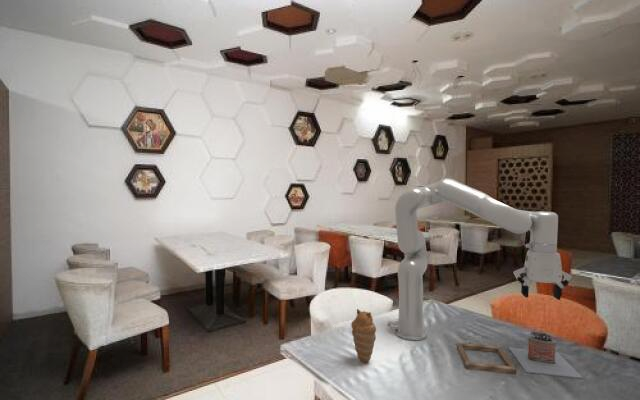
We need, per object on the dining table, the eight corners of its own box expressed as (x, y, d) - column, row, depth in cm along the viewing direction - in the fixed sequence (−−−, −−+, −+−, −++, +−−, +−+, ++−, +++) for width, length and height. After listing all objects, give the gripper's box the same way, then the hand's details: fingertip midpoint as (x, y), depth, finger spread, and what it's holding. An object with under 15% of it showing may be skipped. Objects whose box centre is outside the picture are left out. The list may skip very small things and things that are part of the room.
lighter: (553, 360, 112) (554, 331, 112) (556, 365, 109) (557, 336, 108) (526, 355, 115) (527, 328, 114) (528, 360, 112) (529, 332, 111)
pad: (526, 372, 105) (526, 371, 105) (508, 348, 121) (508, 347, 121) (582, 378, 102) (582, 377, 102) (556, 353, 118) (557, 351, 118)
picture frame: (466, 368, 108) (466, 364, 108) (457, 346, 122) (457, 342, 122) (516, 374, 104) (516, 369, 104) (500, 350, 119) (500, 346, 119)
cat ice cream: (347, 362, 112) (347, 310, 111) (359, 352, 118) (359, 304, 117) (370, 371, 106) (370, 317, 105) (381, 360, 113) (381, 309, 112)
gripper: (519, 248, 108) (517, 299, 109) (578, 251, 105) (575, 303, 106) (511, 244, 116) (509, 291, 116) (566, 247, 112) (563, 295, 113)
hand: (540, 297), depth 111 cm, fingers open, 9 cm apart
